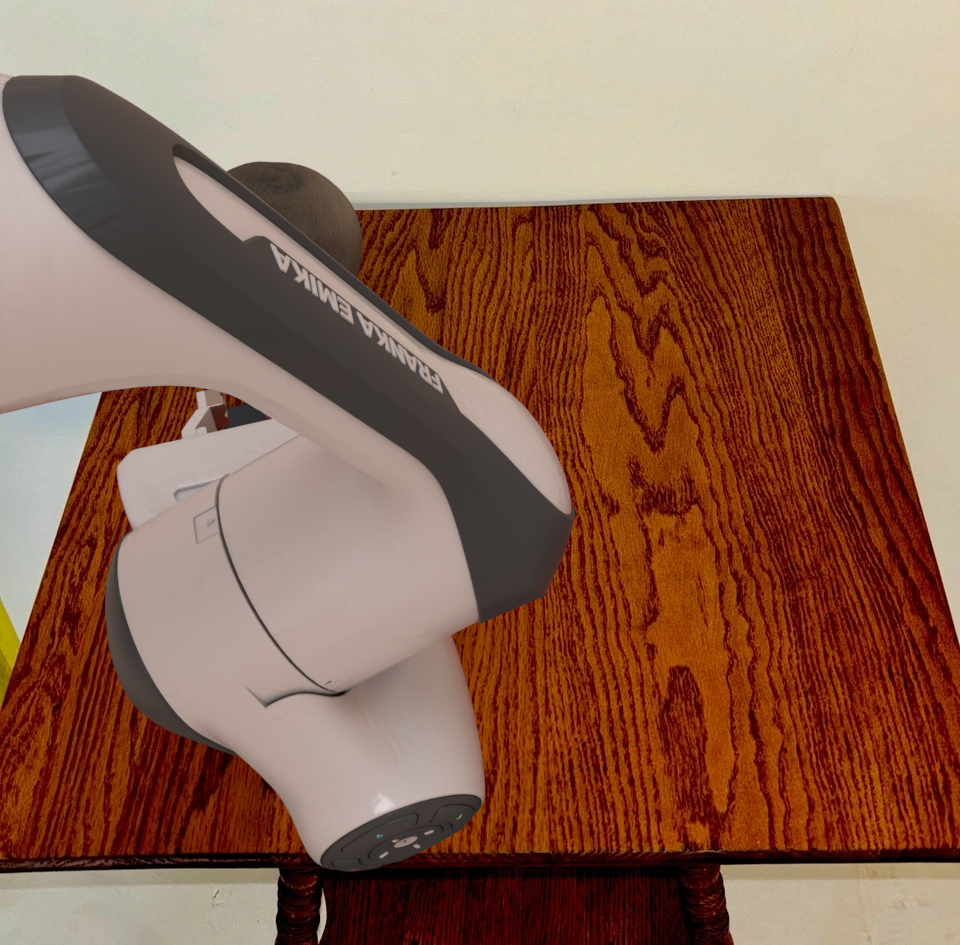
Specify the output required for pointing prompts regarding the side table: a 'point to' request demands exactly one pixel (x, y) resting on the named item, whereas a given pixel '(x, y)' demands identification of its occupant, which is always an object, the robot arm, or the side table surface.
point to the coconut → (308, 206)
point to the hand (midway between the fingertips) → (290, 380)
